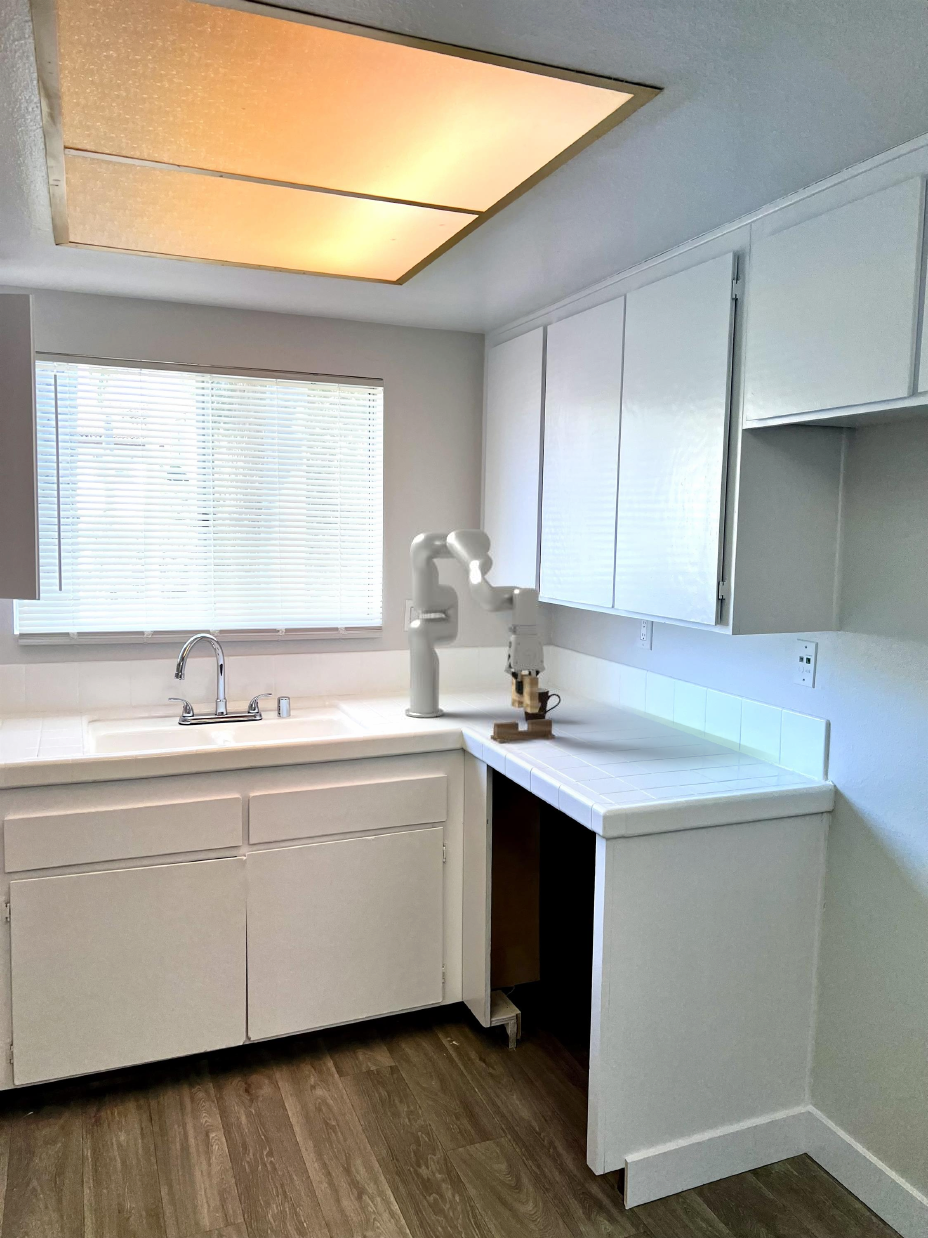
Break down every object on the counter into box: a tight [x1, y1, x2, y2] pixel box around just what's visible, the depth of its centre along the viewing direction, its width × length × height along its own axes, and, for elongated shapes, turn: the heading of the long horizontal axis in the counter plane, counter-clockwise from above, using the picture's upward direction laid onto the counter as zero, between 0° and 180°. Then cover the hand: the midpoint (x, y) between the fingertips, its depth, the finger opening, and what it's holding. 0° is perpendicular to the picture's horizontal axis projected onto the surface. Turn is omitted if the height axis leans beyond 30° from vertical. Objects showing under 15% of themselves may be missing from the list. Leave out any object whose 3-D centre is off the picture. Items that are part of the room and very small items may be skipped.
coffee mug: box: [523, 686, 562, 722], centre depth 289 cm, size 12×9×10 cm
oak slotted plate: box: [510, 672, 539, 713], centre depth 264 cm, size 12×3×10 cm, turn 23°
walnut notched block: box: [490, 718, 556, 744], centre depth 265 cm, size 6×18×5 cm, turn 113°
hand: (524, 693), depth 264 cm, fingers closed on oak slotted plate, 2 cm apart
